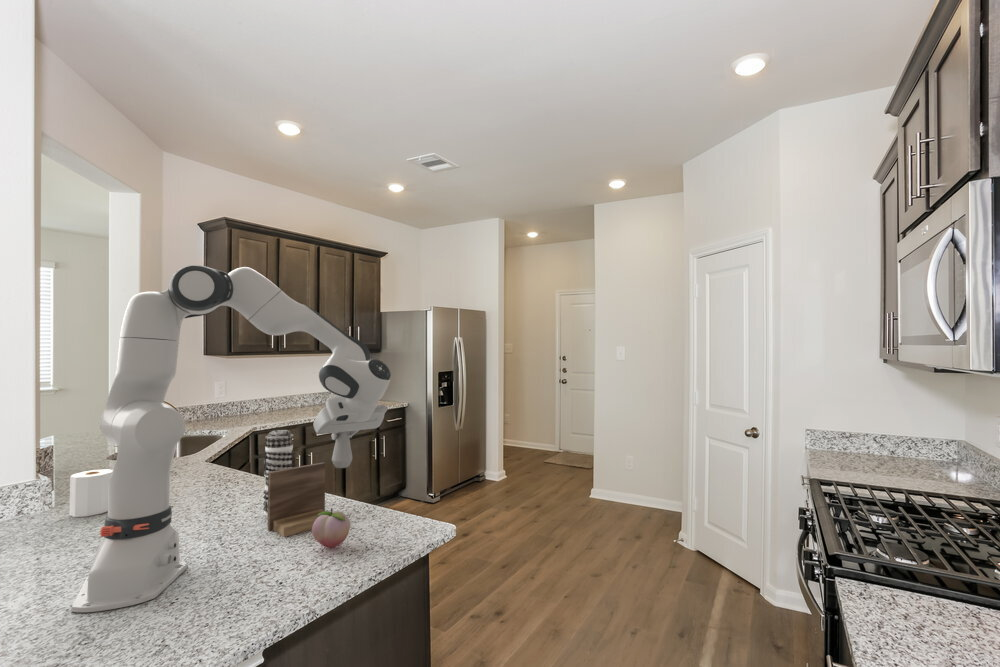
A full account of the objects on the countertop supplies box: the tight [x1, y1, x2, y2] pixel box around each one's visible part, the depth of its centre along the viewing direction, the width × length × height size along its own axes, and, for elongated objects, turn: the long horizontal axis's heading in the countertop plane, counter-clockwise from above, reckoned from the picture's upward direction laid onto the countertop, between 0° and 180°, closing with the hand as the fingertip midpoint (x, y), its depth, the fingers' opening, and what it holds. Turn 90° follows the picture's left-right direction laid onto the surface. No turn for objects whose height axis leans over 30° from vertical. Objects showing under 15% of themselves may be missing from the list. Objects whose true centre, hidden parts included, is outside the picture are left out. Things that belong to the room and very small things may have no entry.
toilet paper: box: [68, 468, 114, 518], centre depth 150 cm, size 10×10×12 cm
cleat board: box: [267, 461, 326, 538], centre depth 137 cm, size 9×16×16 cm, turn 136°
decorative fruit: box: [311, 508, 351, 549], centre depth 121 cm, size 9×8×10 cm
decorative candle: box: [262, 429, 296, 517], centre depth 149 cm, size 9×9×25 cm
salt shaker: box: [331, 431, 353, 469], centre depth 143 cm, size 6×6×13 cm
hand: (341, 437), depth 143 cm, fingers closed on salt shaker, 3 cm apart
